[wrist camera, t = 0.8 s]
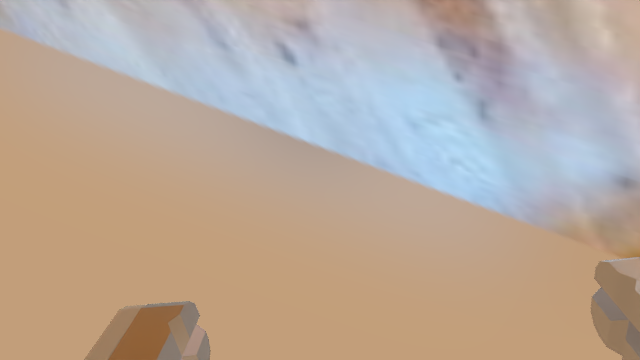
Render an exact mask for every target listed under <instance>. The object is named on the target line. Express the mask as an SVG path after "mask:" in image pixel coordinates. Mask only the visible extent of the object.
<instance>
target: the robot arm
mask: <svg viewBox="0 0 640 360" xmlns="http://www.w3.org/2000/svg"><path fill="white" fill-rule="evenodd" d="M594 279H595V280H596V281H597V282H598V284H599V285H600V286H601V288H600V289H599V290H598V291H597V292H596V293H595V294H594V295H593V297H592V302H591V314H592V318H593V323H594V326H595V328H596V330H597V332H598V334H599V336H600V338H601V339H602V341H603V342H604V344H605V345H606V347H608V348H610V349H611V350H613V351H615V352H617V353H618V354H620V355H622V356H623V358H622V360H640V257H635V258H625V259H616V260H606V261H600V262H599V263H598V265H597V267H596V270H595V277H594ZM199 316H200V315H199V313H198V310H197V308H196V305H195V304H194V303H192V302H190V301H186V302H172V303H159V304H147V305H137V306H126V307H124V308H122V309H120V310H119V311H118V312H117V314H116V315H115V317H114V318H113V319H112V321H111V322H110V324H109V325H108V327H107V328H106V329H105V331H104V332H103V334H102V335H101V336H100V338H99V339H98V341H97V342H96V344H95V345H94V346H93V348H92V349H91V351H90V352H89V353H88V355H87V356H86V358H85V359H84V360H210V345H209V339H208V336H207V333H206V331H205V330H204V329H202V328H201V327H200V326H198V325H197V324H196V323H197V321H198V319H199Z"/></svg>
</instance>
